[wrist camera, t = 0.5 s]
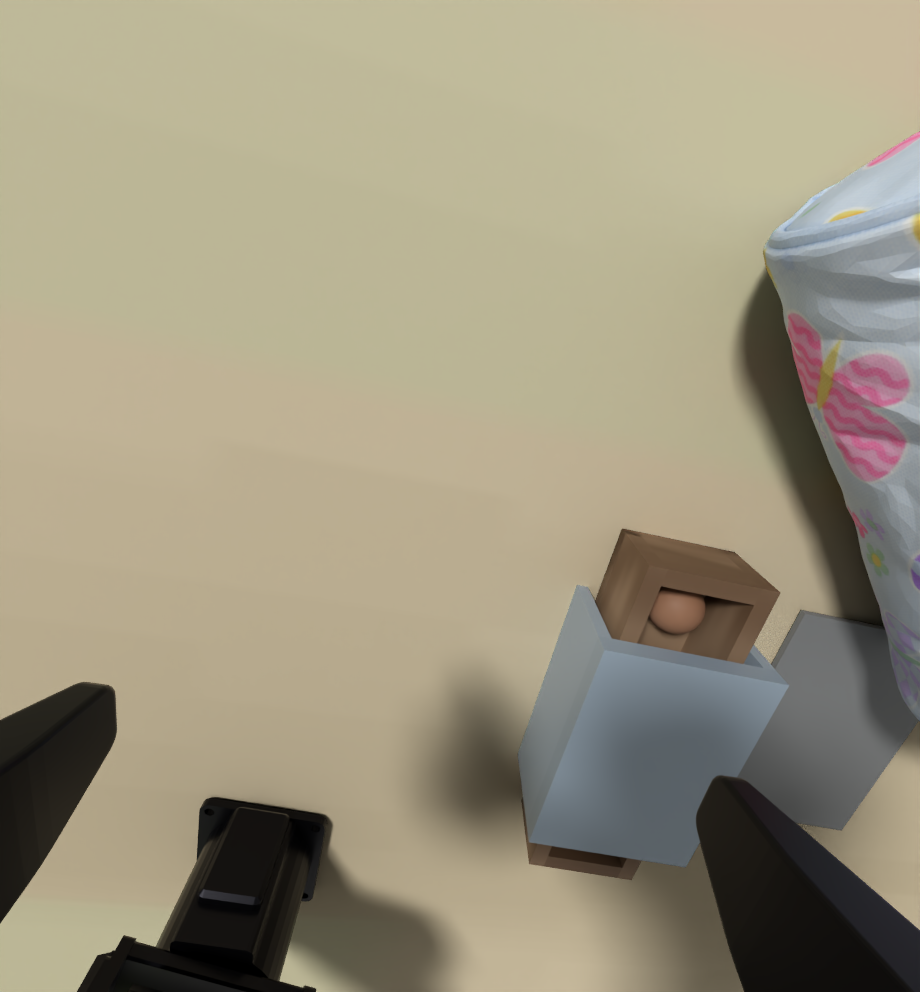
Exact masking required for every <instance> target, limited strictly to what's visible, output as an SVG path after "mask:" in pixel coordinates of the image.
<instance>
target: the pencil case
mask: <svg viewBox="0 0 920 992" xmlns="http://www.w3.org/2000/svg"><path fill="white" fill-rule="evenodd" d="M763 254H764V259H765V265H766V269H767V271H768V273H769V275H770V277H771V279H772V281H773V283H774V286H775V288H776V290H777V292H778V294H779V297H780V299H781V302H782V305H783V316H784V322H785V326H786V330H787V333H788V335H789V338H790V341H791V345H792V351H793V357H794V361H795V364H796V368H797V371H798V375H799V378H800V382H801V385H802V388H803V392H804V396H805V400H806V403H807V406H808V408H809V411H810V414H811V417H812V419H813V422H814V425H815V427H816V429H817V432H818V434H819V437H820V440H821V442H822V445H823V447H824V450H825V452H826V455H827V458H828V460H829V463H830V465H831V467H832V469H833V472H834V474H835V476H836V478H837V480H838V483H839V485H840V487H841V489H842V492H843V495H844V499H845V503H846V507H847V509H848V511H849V513H850V514H851V516H852V518H853V520H854V522H855V526H856V530H857V534H858V540H859V544H860V549H861V554H862V558H863V561H864V564H865V567H866V570H867V573H868V576H869V579H870V582H871V585H872V588H873V591H874V594H875V597H876V599H877V601H878V603H879V607H880V612H881V617H882V621H883V624H884V627H885V630H886V633H887V636H888V643H889V650H890V656H891V662H892V666H893V670H894V674H895V678H896V681H897V685H898V688H899V690H900V693H901V695H902V698H903V699H904V701H905V703H906V704H907V706H908V707H909V709H910V710H911V712H912V713H913V714H914V715H915V717H916V718H917V719H918V720H919V721H920V132H918V133H916V134H914V135H912V136H910V137H909V138H907V139H906V140H904V141H902V142H901V143H899V144H898V145H896V146H894V147H893V148H891V149H890V150H888V151H886V152H885V153H883V154H882V155H880V156H878V157H877V158H875V159H874V160H872V161H870V162H869V163H867V164H866V165H864V166H863V167H861V168H859V169H858V170H856V171H855V172H853V173H852V174H850V175H849V176H847V177H845V178H844V179H843V180H841V181H840V182H839V183H837V184H835V185H832V186H830V187H828V188H826V189H824V190H822V191H821V192H819V193H818V194H817V195H815V196H813V197H811V198H810V199H809V200H808V201H807V202H806V203H805V204H804V205H803V206H802V207H801V208H800V209H799V210H798V211H797V212H796V213H795V214H794V215H793V216H792V217H791V218H790V219H789V220H787V221H786V222H784V223H783V224H782V225H780V226H779V227H778V228H777V229H775V230H774V231H773V233H772V234H771V236H770V238H769V240H768V241H767V243H766V245H765V246H764V251H763Z"/></svg>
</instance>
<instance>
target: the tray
mask: <svg viewBox="0 0 920 992" xmlns="http://www.w3.org/2000/svg"><path fill="white" fill-rule="evenodd" d="M779 595H780V592H779V591H778V590H777V589H776V588H775V587H774V586H772V585H771V584H770V583H769V582H768V581H767V580H766V579H764V578H763V577H762V576H761V575H760V574H759V573H758V572H756V571H755V570H754V569H753V568H752V567H751V566H750V565H749V564H747V563H746V562H745V561H744V560H743V559H742V558H741V557H739V556H738V555H737V554H736V553H735V552H731V551H726V550H721V549H716V548H712V547H707V546H702V545H698V544H693V543H688V542H683V541H679V540H674V539H669V538H664V537H660V536H655V535H650V534H646V533H641V532H636V531H631V530H627V529H622V530H621V533H620V535H619V538H618V541H617V544H616V546H615V549H614V552H613V554H612V557H611V560H610V562H609V565H608V568H607V571H606V573H605V576H604V579H603V581H602V584H601V587H600V589H599V592H598V595H597V598H596V600H595V603H596V606H597V608H598V610H599V612H600V614H601V616H602V619H603V621H604V623H605V625H606V627H607V630H608V632H609V634H610V636H611V638H612V639H616V640H622V641H627V642H632V643H637V644H642V645H647V646H653V647H658V648H663V649H668V650H673V651H678V652H683V653H689V654H694V655H699V656H704V657H709V658H714V659H720V660H725V661H730V662H735V663H740V664H744V662H745V660H746V658H747V656H748V654H749V652H750V650H751V649H752V647H753V645H754V643H755V641H756V639H757V637H758V635H759V633H760V631H761V629H762V627H763V625H764V623H765V622H766V620H767V618H768V616H769V614H770V612H771V610H772V608H773V606H774V604H775V602H776V600H777V598H778V596H779ZM521 801H522V809H523V817H524V825H525V834H526V842H527V850H528V858H529V864H533V865H539V866H546V867H552V868H558V869H565V870H571V871H577V872H584V873H590V874H597V875H603V876H609V877H616V878H622V879H628V880H632V878H633V876H634V874H635V872H636V870H637V868H638V866H639V865H640V863H641V861H642V860H636V859H630V858H624V857H618V856H611V855H605V854H599V853H593V852H587V851H580V850H574V849H568V848H562V847H555V846H549V845H543V844H537V843H530V842H529V840H528V832H527V824H526V816H525V808H524V800H523V797H522V800H521Z"/></svg>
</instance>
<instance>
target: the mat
mask: <svg viewBox="0 0 920 992" xmlns="http://www.w3.org/2000/svg"><path fill="white" fill-rule="evenodd" d="M771 665H772V666H773V668H774V669H775V670H776V671H777V672H778V673H779V674H780V676H781V677H782V678H783V679H784V680H785V681H786V682H787V684H788V685H789V687H788V689H787V690H786V692H785V694H784V696H783V697H782V699H781V701H780V703H779V704H778V706H777V708H776V710H775V711H774V713H773V715H772V717H771V718H770V720H769V722H768V724H767V725H766V727H765V729H764V731H763V732H762V734H761V736H760V738H759V740H758V741H757V743H756V745H755V747H754V748H753V750H752V752H751V754H750V755H749V757H748V759H747V761H746V762H745V764H744V766H743V768H742V769H741V771H740V773H739V775H738V776H737V777H738V778H742V779H744V780H746V781H747V782H749V783H750V784H751V785H752V786H754V787H755V788H756V789H757V790H758V791H759V792H760V793H762V794H763V795H764V796H765V797H766V798H767V799H769V800H770V801H771V802H772V803H773V804H774V805H775V806H777V807H778V808H779V809H780V810H781V811H782V812H784V813H785V814H786V815H787V816H788V817H789V818H791V819H792V820H793V821H794V822H795V823H800V824H806V825H812V826H818V827H824V828H830V829H836V830H842V829H843V828H844V826H845V825H846V823H847V822H848V821H849V819H850V818H851V816H852V815H853V813H854V812H855V811H856V809H857V808H858V806H859V805H860V803H861V802H862V801H863V799H864V798H865V796H866V795H867V794H868V792H869V791H870V789H871V788H872V786H873V785H874V784H875V782H876V781H877V779H878V778H879V777H880V775H881V774H882V772H883V771H884V769H885V768H886V767H887V765H888V764H889V762H890V761H891V759H892V758H893V757H894V755H895V754H896V752H897V751H898V750H899V748H900V747H901V745H902V744H903V742H904V741H905V740H906V738H907V737H908V735H909V734H910V733H911V731H912V730H913V728H914V727H915V725H916V724H917V723H918V721H919V720H918V719H917V718H916V717H915V715H914V714H913V713H912V712H911V710H910V709H909V707H908V706H907V704H906V703H905V701H904V699H903V698H902V695H901V693H900V690H899V688H898V685H897V681H896V678H895V674H894V670H893V666H892V662H891V656H890V650H889V643H888V636H887V633H886V630H885V627H882V626H877V625H872V624H868V623H863V622H858V621H853V620H848V619H843V618H838V617H833V616H828V615H824V614H819V613H814V612H809V611H804V610H801V611H800V612H799V614H798V616H797V618H796V620H795V622H794V624H793V625H792V627H791V629H790V631H789V633H788V635H787V636H786V638H785V640H784V642H783V644H782V646H781V647H780V649H779V651H778V653H777V655H776V657H775V659H774V660H773V662H772V664H771Z"/></svg>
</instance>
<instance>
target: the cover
mask: <svg viewBox="0 0 920 992" xmlns="http://www.w3.org/2000/svg"><path fill="white" fill-rule="evenodd" d="M788 687H789V685H788V684H787V682H786V681H785V680H784V679H783V678H782V677H781V676H780V674H779V673H778V672H777V671H776V670H775V669H774V668H773V666H772V665H771V664H770V663H769V662H768V661H767V660H766V658H765V657H764V656H763V655H762V654H761V653H760V652H759V650H758V649H757V648H756V647H755V646H754V645H753V647H752V649H751V650H750V652H749V654H748V656H747V658H746V660H745V662H744V664H740V663H735V662H730V661H725V660H720V659H714V658H709V657H704V656H699V655H694V654H689V653H683V652H678V651H673V650H668V649H663V648H658V647H653V646H647V645H642V644H637V643H632V642H627V641H622V640H616V639H612V638H611V636H610V634H609V632H608V630H607V627H606V625H605V623H604V621H603V619H602V616H601V614H600V612H599V610H598V608H597V606H596V603H595V601H594V599H593V597H592V595H591V592H590V590H589V588H588V587H585V586H580V585H577V586H576V589H575V592H574V595H573V598H572V601H571V604H570V606H569V609H568V612H567V615H566V618H565V621H564V624H563V626H562V629H561V632H560V635H559V638H558V641H557V643H556V646H555V649H554V652H553V655H552V658H551V661H550V663H549V666H548V669H547V672H546V675H545V678H544V681H543V683H542V686H541V689H540V692H539V695H538V698H537V700H536V703H535V706H534V709H533V712H532V715H531V718H530V720H529V723H528V726H527V729H526V732H525V735H524V738H523V740H522V743H521V746H520V749H519V752H518V761H519V769H520V777H521V785H522V792H523V800H524V808H525V816H526V824H527V832H528V840H529V842H530V843H537V844H543V845H549V846H555V847H562V848H568V849H574V850H580V851H587V852H593V853H599V854H605V855H611V856H618V857H624V858H630V859H636V860H643V861H649V862H655V863H661V864H667V865H674V866H680V867H686V866H687V864H688V863H689V861H690V859H691V857H692V856H693V854H694V852H695V850H696V848H697V847H698V845H699V843H700V840H699V836H698V833H697V828H696V814H697V810H698V808H699V806H700V804H701V802H702V799H703V797H704V795H705V793H706V791H707V789H708V787H709V785H710V783H711V781H712V779H713V778H714V777H716V776H717V775H724V776H731V777H737V776H738V775H739V773H740V771H741V769H742V768H743V766H744V764H745V762H746V761H747V759H748V757H749V755H750V754H751V752H752V750H753V748H754V747H755V745H756V743H757V741H758V740H759V738H760V736H761V734H762V732H763V731H764V729H765V727H766V725H767V724H768V722H769V720H770V718H771V717H772V715H773V713H774V711H775V710H776V708H777V706H778V704H779V703H780V701H781V699H782V697H783V696H784V694H785V692H786V690H787V689H788Z"/></svg>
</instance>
